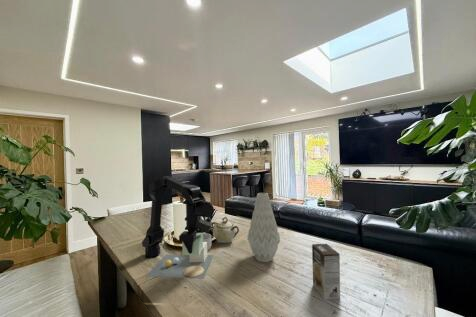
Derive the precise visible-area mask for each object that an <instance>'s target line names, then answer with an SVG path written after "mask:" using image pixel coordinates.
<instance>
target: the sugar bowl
mask: <svg viewBox="0 0 476 317" xmlns="http://www.w3.org/2000/svg"><path fill="white" fill-rule="evenodd" d="M225 219H226V220H225ZM228 220H229V219H228V217H227V216H224V217H223V218H222V221H221V222H216V221H213V222H212V226H211V228H212V235H213V237H214V238H215V240H216V241H217V242H218V243H219V244H230V243H232V242H233V240H234V238H236V236H237V235H238V233H239V232H240V229H239V227H238V226H237V225H235V224H234V223H232V222H230V221H228Z"/></svg>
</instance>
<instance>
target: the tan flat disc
mask: <svg viewBox="0 0 476 317" xmlns="http://www.w3.org/2000/svg"><path fill="white" fill-rule="evenodd" d="M203 272H204V268H203V267H201V266H190V267H188V268H186V269H185V270H184V271H183V274H184V276H186V277H197V276H199V275H201V274H202V273H203Z"/></svg>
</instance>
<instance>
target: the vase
mask: <svg viewBox="0 0 476 317" xmlns="http://www.w3.org/2000/svg"><path fill="white" fill-rule="evenodd" d="M246 239H247V241H248V243H249V246H250V247H249V248H250V250H251V252H252V254H253V255H254V257H255V260H256V261H257V262H261V263H269V262H271V261H273V259H274V257H275V256H276V254H277V251H278V247H279V244H280V242H281V236H280V233H279V230H278V224H277V222H276V219H275V214H274V211H273V207H272V203H271V200H270V196H269V193H268V192H267V193H266V192H260V193H259V192H258V193H257V194H256V199H255V203H254V208H253V211H252V217H251V220H250V226H249V229H248V233H247V238H246Z"/></svg>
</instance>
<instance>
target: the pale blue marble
mask: <svg viewBox="0 0 476 317" xmlns="http://www.w3.org/2000/svg"><path fill="white" fill-rule="evenodd" d="M178 262H179V258H177V257H175V258H174V259H173V264H178Z"/></svg>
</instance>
